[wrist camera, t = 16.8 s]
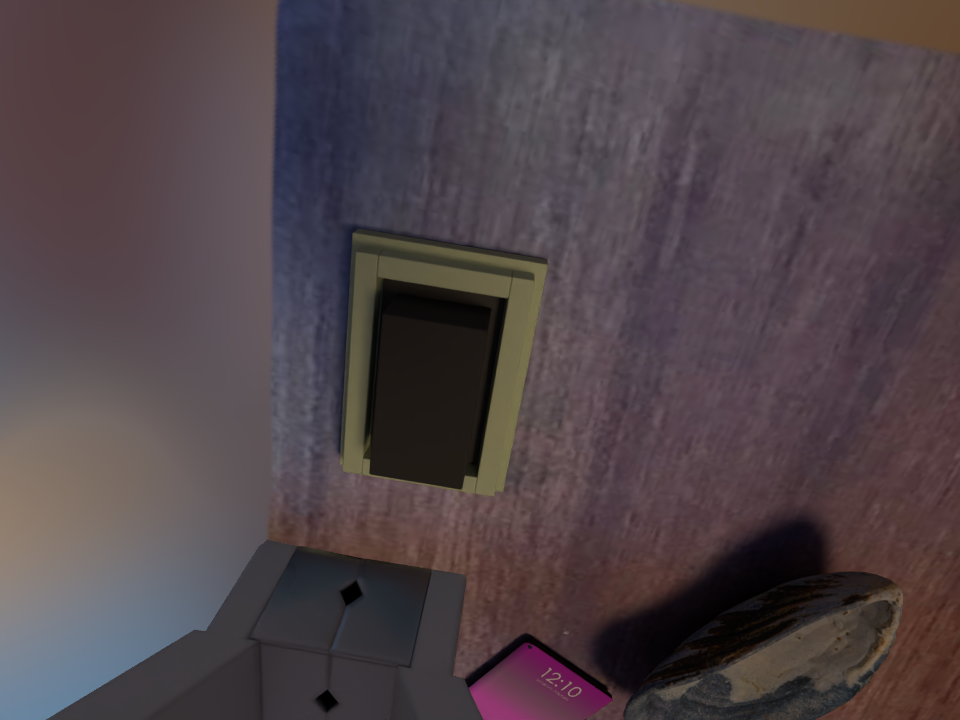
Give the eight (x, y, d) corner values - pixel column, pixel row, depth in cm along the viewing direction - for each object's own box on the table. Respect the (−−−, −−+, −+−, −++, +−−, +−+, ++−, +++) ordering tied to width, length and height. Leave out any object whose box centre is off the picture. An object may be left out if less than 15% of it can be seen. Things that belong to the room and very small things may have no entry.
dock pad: (358, 228, 26) (344, 237, 24) (547, 259, 26) (549, 271, 24) (344, 454, 31) (331, 478, 29) (503, 481, 31) (502, 506, 29)
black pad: (397, 292, 26) (381, 313, 24) (492, 308, 26) (487, 331, 23) (383, 441, 29) (368, 475, 27) (468, 455, 29) (462, 490, 27)
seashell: (644, 504, 31) (664, 571, 27) (883, 525, 31) (945, 598, 26) (606, 697, 37) (616, 779, 33) (804, 718, 37) (843, 805, 32)
